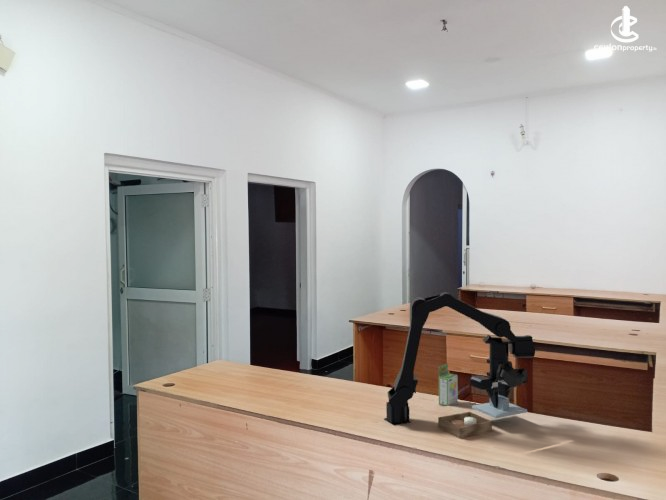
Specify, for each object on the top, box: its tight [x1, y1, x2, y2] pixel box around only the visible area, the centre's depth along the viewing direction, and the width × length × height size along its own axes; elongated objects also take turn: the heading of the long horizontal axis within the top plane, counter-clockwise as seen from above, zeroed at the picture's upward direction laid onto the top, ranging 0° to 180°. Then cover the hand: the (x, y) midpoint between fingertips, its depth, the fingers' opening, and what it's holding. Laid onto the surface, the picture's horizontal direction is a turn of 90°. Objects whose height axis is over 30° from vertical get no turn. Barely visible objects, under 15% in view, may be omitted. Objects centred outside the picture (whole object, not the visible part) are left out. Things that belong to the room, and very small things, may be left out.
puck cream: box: [464, 417, 476, 426], centre depth 157 cm, size 4×4×3 cm
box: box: [437, 411, 493, 439], centre depth 155 cm, size 12×10×4 cm
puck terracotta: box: [452, 420, 464, 427], centre depth 154 cm, size 4×4×3 cm
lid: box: [471, 394, 528, 419], centre depth 162 cm, size 13×11×4 cm
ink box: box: [438, 363, 459, 407], centre depth 182 cm, size 7×4×13 cm, turn 140°
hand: (499, 407), depth 162 cm, fingers closed on lid, 2 cm apart
